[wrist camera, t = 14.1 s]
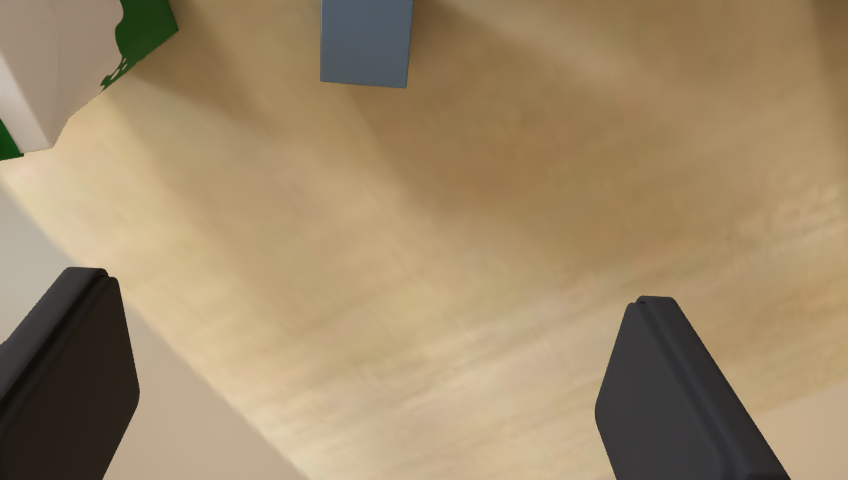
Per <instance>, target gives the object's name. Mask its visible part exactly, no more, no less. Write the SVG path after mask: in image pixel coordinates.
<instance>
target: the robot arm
mask: <svg viewBox="0 0 848 480" xmlns="http://www.w3.org/2000/svg"><path fill="white" fill-rule="evenodd" d="M139 394H140V391H139V383H138V378H137V373H136V368H135V363H134V358H133V353H132V348H131V343H130V338H129V333H128V328H127V323H126V318H125V312H124V308H123V302H122V297H121V292H120V287H119V283H118V280H117V279H116V278H115V277H109V276H108V273H107V272H106V270H105V269H102V268H84V267H68V268H67V269H65V270H64V271H63V272H62V274H61V275H60V276H59V277H58V278H57V279H56V281H55V282H54V283H53V284H52V286H51V287H50V288H49V289H48V290H47V292H46V293H45V294H44V295H43V296H42V298H41V299H40V300H39V301H38V303H37V304H36V305H35V306H34V307H33V309H32V310H31V311H30V312H29V313H28V315H27V316H26V317H25V318H24V320H23V321H22V322H21V323H20V324H19V326H18V327H17V328H16V329H15V331H14V332H13V333H12V334H11V336H10V337H9V338H8V339H7V340H6V341H4V342H3V343H2V344H1V345H0V480H102V479H103V477H104V475H105V473H106V471H107V469H108V467H109V464H110V462H111V460H112V458H113V456H114V454H115V452H116V450H117V448H118V446H119V444H120V442H121V439H122V437H123V435H124V433H125V431H126V429H127V427H128V425H129V423H130V420H131V419H132V416H133V414H134V412H135V410H136V408H137V405H138V401H139ZM595 420H596V424H597V427H598V430H599V432H600V435H601V438H602V441H603V443H604V446H605V449H606V452H607V455H608V457H609V460H610V463H611V466H612V468H613V471H614V474H615V477H616V479H617V480H791V479H790V477H789V476H788V474H787V472H786V471H785V470H784V468H783V466H782V465H781V463H780V462H779V460H778V459H777V457H776V456H775V454H774V452H773V451H772V449H771V448H770V446H769V445H768V443H767V442H766V440H765V438H764V437H763V435H762V434H761V432H760V431H759V429H758V428H757V426H756V425H755V423H754V421H753V420H752V418H751V417H750V415H749V414H748V412H747V411H746V409H745V408H744V406H743V404H742V403H741V401H740V400H739V398H738V397H737V395H736V394H735V392H734V391H733V389H732V387H731V386H730V384H729V383H728V381H727V380H726V378H725V377H724V375H723V374H722V372H721V370H720V369H719V367H718V366H717V364H716V363H715V361H714V360H713V358H712V357H711V355H710V353H709V352H708V350H707V349H706V347H705V346H704V344H703V343H702V341H701V340H700V338H699V336H698V335H697V333H696V332H695V330H694V329H693V327H692V326H691V324H690V323H689V321H688V319H687V318H686V316H685V315H684V313H683V312H682V310H681V309H680V307H679V306H678V304H677V302H676V301H675V300H674V299H673V298H671V297H659V296H640V297H639V298H638V299H637V301H636V303H629V305H628V306H627V308H626V311H625V314H624V317H623V320H622V323H621V326H620V329H619V332H618V336H617V339H616V342H615V345H614V348H613V351H612V354H611V357H610V361H609V364H608V367H607V370H606V373H605V376H604V379H603V382H602V386H601V389H600V392H599V395H598V398H597V401H596V405H595Z"/></svg>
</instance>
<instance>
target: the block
mask: <svg viewBox="0 0 848 480" xmlns="http://www.w3.org/2000/svg"><path fill="white" fill-rule="evenodd" d="M413 5H414V0H321V55H320V81H321V82H332V83H344V84H356V85H368V86H380V87H392V88H404V89H405V88H406V87H407V75H408V64H409V52H410V40H411V29H412V17H413Z"/></svg>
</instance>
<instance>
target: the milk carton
mask: <svg viewBox="0 0 848 480" xmlns="http://www.w3.org/2000/svg"><path fill="white" fill-rule="evenodd" d="M177 31H179V29H178V27H177V24H176V21H175V19H174V16H173V13H172V11H171V8H170V6H169V3H168V0H0V161H1V160H7V159H13V158H18V157H23V156H24V153H27V152H34V151H40V150H45V149H50V148H53V147H54V145H55V143H56V141H57V139H58V137H59V136H60V134H61V132H62V130H63V128H64V126H65V124H66V122H67V121H68V119H69V118H70V117H71V116H72V115H73V114H75V113H76V112H77V111H78V110H80V109H81V108H82V107H83V106H85V105H86V104H87V103H88V102H90V101H91V100H92V99H93V98H95V97H96V96H97V95H98V94H100V93H101V92H102V91H103V90H105V89H106V88H107V87H108V86H110V85H111V84H112V83H113V82H115V81H116V80H117V79H118V78H120V77H121V76H122V75H123V74H124V73H126V72H127V71H128V70H129V69H131V68H132V67H133V66H135V65H136V64H137V63H138V62H140V61H141V60H142V59H143V58H145V57H146V56H147V55H148V54H150V53H151V52H152V51H153V50H155V49H156V48H157V47H158V46H160V45H161V44H162V43H163V42H165V41H166V40H167V39H169V38H170V37H171V36H172V35H174V34H175V33H176V32H177Z"/></svg>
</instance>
